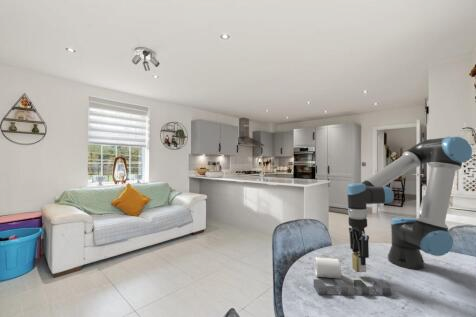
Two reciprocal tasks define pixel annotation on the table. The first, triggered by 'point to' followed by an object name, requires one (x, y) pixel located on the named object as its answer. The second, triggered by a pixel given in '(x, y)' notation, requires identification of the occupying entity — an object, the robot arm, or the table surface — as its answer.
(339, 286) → the rail
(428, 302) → the table surface
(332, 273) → the mug
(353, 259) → the block
